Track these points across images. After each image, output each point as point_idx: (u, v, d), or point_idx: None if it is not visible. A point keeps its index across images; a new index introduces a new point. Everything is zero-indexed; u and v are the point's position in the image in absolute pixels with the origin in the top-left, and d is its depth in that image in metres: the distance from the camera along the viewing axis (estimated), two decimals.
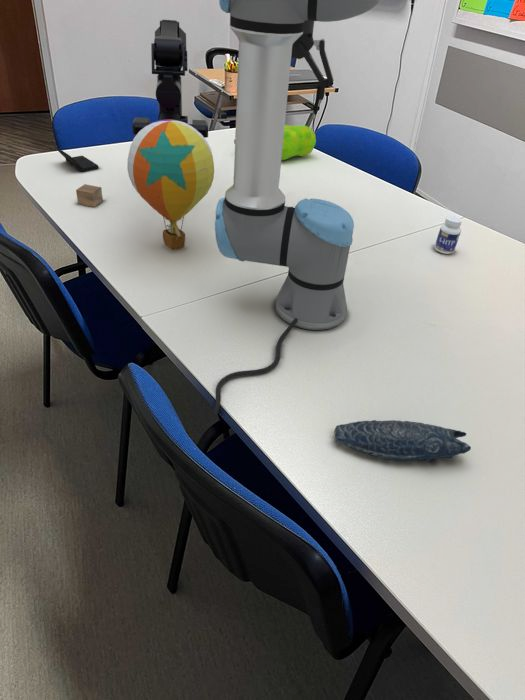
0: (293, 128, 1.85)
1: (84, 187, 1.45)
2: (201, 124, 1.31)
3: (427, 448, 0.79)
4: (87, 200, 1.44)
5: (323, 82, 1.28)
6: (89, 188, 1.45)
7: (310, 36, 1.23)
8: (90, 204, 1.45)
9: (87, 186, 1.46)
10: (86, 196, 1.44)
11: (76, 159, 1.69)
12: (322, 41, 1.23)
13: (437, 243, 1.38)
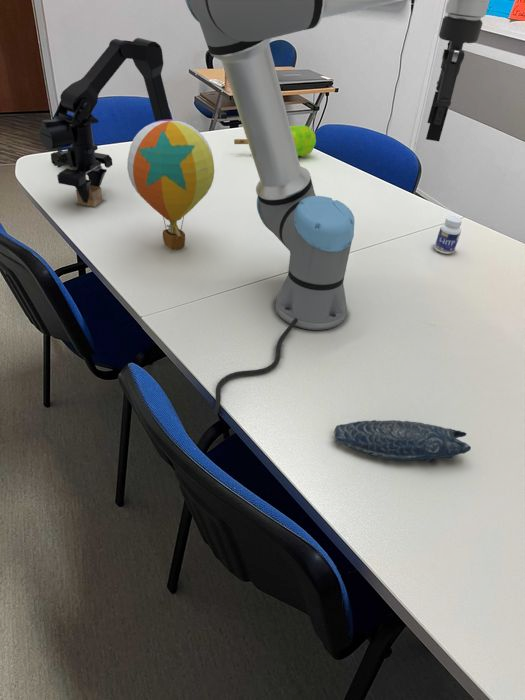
0: (293, 128, 1.85)
1: None
2: (64, 171, 1.35)
3: (427, 448, 0.79)
4: None
5: None
6: None
7: None
8: (90, 204, 1.45)
9: None
10: None
11: None
12: None
13: (437, 243, 1.38)
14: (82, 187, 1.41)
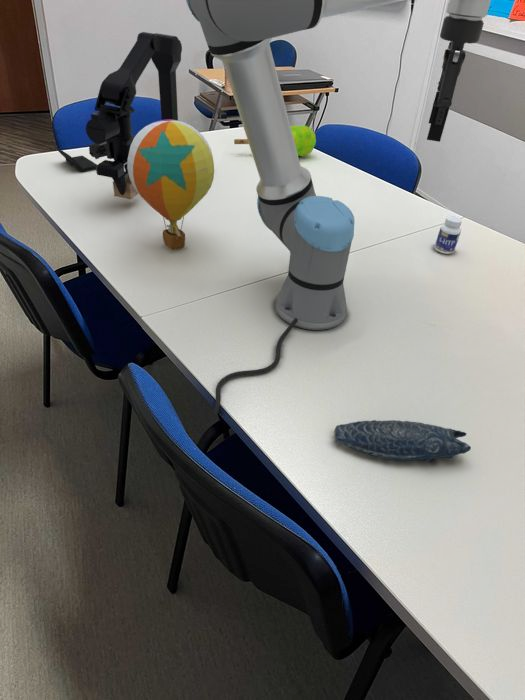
0: (293, 128, 1.85)
1: None
2: (103, 163, 1.33)
3: (427, 448, 0.79)
4: None
5: None
6: None
7: None
8: (127, 196, 1.43)
9: None
10: None
11: (76, 159, 1.69)
12: None
13: (437, 243, 1.38)
14: (120, 179, 1.39)
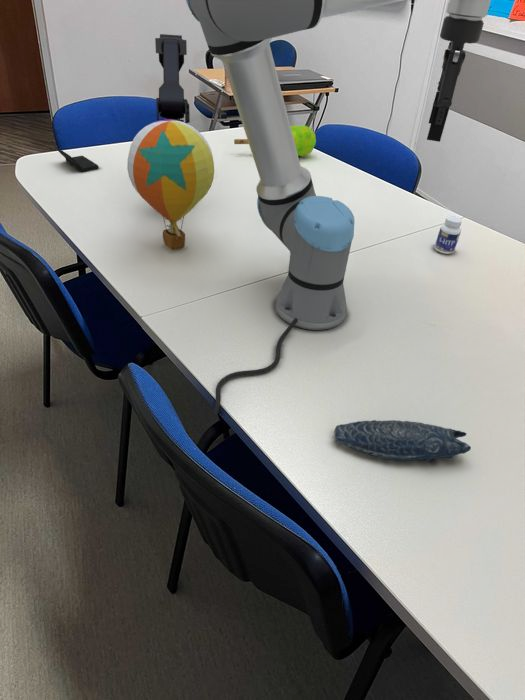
0: (293, 128, 1.85)
1: None
2: None
3: (427, 448, 0.79)
4: None
5: None
6: None
7: None
8: None
9: None
10: None
11: (76, 159, 1.69)
12: None
13: (437, 243, 1.38)
14: None
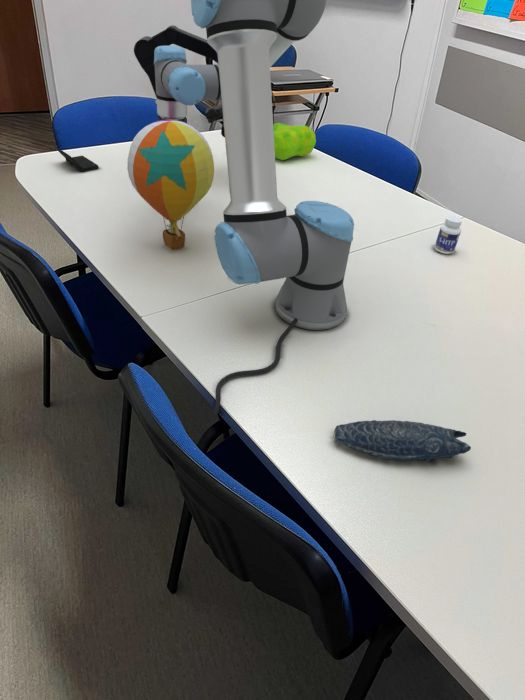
0: (293, 128, 1.85)
1: None
2: None
3: (427, 448, 0.79)
4: None
5: None
6: None
7: None
8: None
9: None
10: None
11: (76, 159, 1.69)
12: None
13: (437, 243, 1.38)
14: None
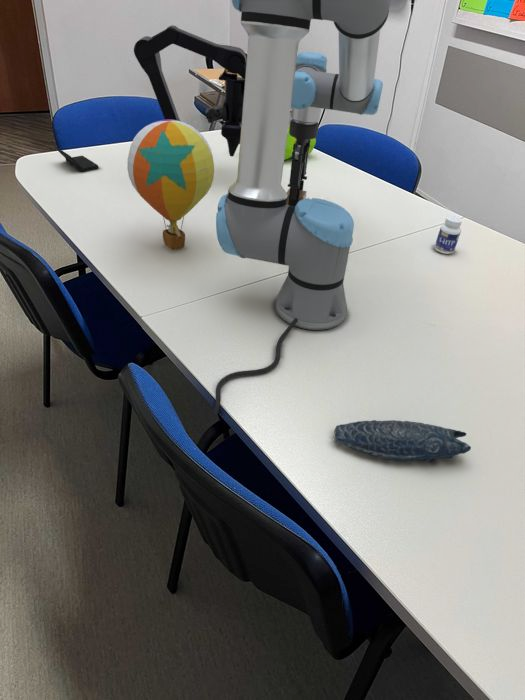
0: None
1: None
2: (227, 124, 1.50)
3: (427, 448, 0.79)
4: None
5: (304, 176, 1.48)
6: None
7: None
8: None
9: None
10: None
11: (76, 159, 1.69)
12: None
13: (437, 243, 1.38)
14: (233, 141, 1.55)
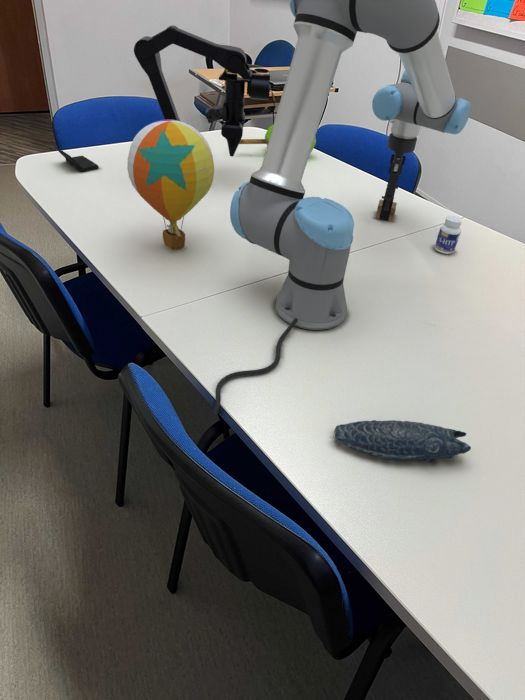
0: None
1: None
2: (227, 124, 1.50)
3: (427, 448, 0.79)
4: None
5: (396, 185, 1.53)
6: None
7: None
8: (389, 219, 1.52)
9: None
10: None
11: (76, 159, 1.69)
12: None
13: (437, 243, 1.38)
14: (233, 141, 1.55)
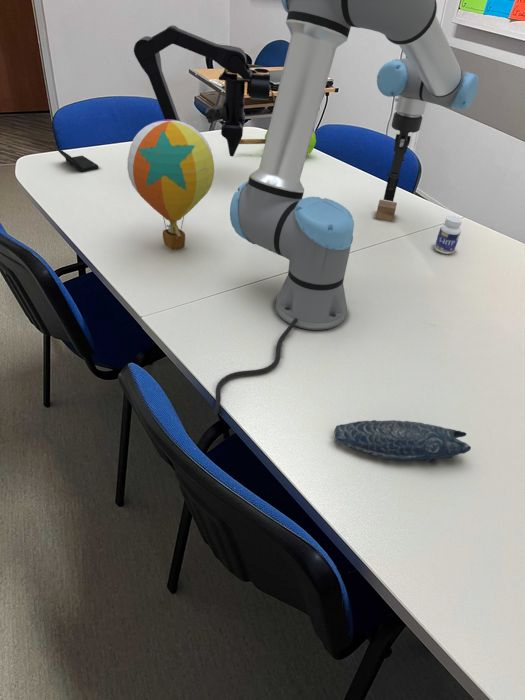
0: None
1: (383, 203, 1.52)
2: (227, 124, 1.50)
3: (427, 448, 0.79)
4: (387, 215, 1.52)
5: (402, 157, 1.51)
6: (388, 204, 1.52)
7: None
8: (389, 219, 1.52)
9: (384, 202, 1.53)
10: (387, 211, 1.51)
11: (76, 159, 1.69)
12: None
13: (437, 243, 1.38)
14: (233, 141, 1.55)
